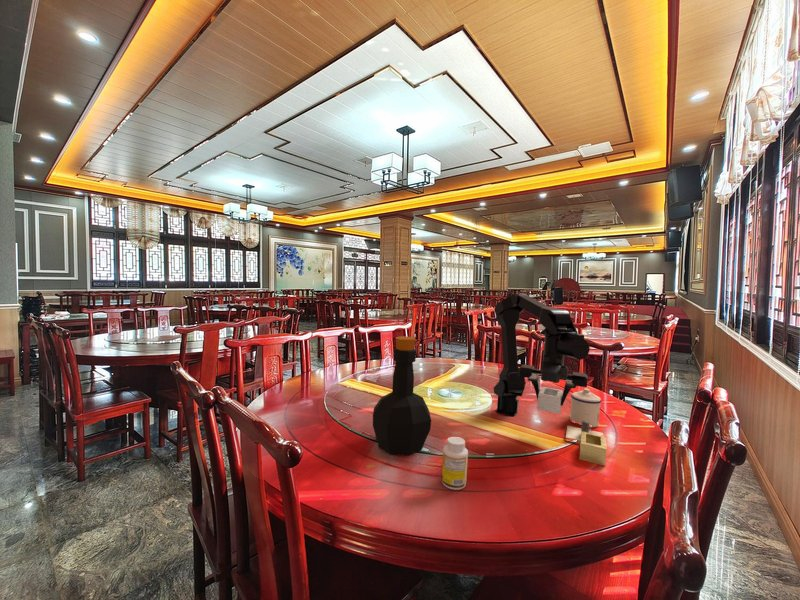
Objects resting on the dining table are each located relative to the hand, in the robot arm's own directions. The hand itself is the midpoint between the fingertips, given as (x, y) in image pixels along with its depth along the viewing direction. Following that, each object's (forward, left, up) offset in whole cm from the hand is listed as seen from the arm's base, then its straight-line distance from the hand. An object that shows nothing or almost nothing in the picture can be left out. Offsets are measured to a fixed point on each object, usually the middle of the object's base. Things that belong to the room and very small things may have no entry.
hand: (550, 403), depth 109 cm
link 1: (0, 0, -1) cm, 1 cm away
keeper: (+10, +6, -11) cm, 16 cm away
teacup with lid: (+9, +22, -11) cm, 26 cm away
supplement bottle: (-16, -39, -11) cm, 44 cm away
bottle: (-35, -29, -11) cm, 47 cm away
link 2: (+12, -5, -11) cm, 17 cm away
